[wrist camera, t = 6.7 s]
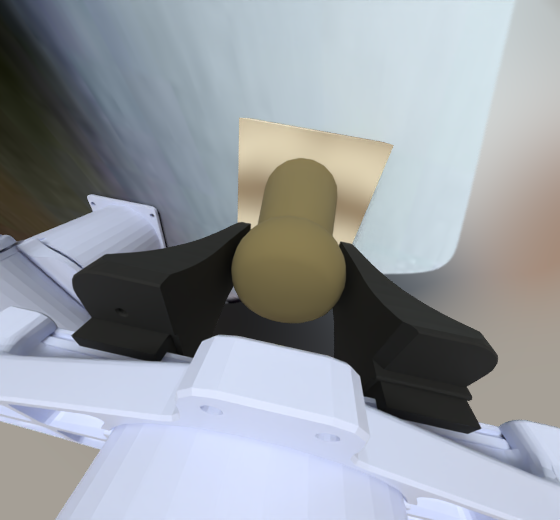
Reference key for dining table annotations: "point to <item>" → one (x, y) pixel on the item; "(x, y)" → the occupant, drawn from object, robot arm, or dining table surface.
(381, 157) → the birch riser block
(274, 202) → the cork
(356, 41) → the dining table surface
